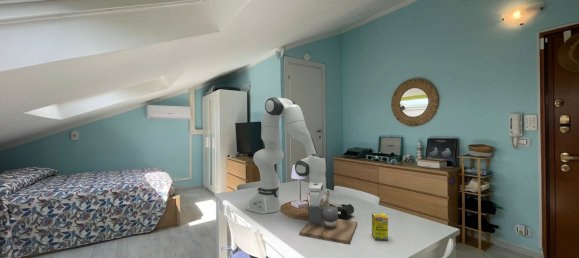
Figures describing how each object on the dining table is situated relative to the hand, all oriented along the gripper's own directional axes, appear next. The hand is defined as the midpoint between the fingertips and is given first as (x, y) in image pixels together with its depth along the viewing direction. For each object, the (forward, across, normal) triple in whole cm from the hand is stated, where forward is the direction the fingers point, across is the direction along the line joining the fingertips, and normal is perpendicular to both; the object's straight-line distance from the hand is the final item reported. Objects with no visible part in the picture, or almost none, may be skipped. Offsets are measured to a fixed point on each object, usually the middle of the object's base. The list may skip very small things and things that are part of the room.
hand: (317, 209), depth 133 cm
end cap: (+8, -14, +14) cm, 21 cm away
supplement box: (+8, +8, +31) cm, 33 cm away
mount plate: (+8, +6, +7) cm, 12 cm away
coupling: (+5, +5, +4) cm, 8 cm away
